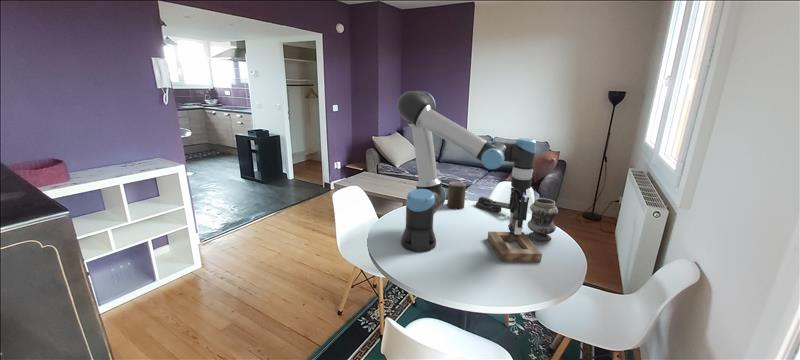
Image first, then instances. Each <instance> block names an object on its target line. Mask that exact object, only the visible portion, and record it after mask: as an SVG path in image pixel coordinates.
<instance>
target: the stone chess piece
mask: <svg viewBox="0 0 800 360" xmlns="http://www.w3.org/2000/svg"><path fill="white" fill-rule="evenodd" d="M512 219H513V220H512V224H509V223H508V225H507V227H508V230H509V231H507V232H508V235H509V236H511V237H521V234H514V231H515V223H516V220H515V219H517V210H514V213H513V217H512ZM523 227H524V226H522V230H523Z"/></svg>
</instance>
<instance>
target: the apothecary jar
mask: <svg viewBox="0 0 800 360" xmlns="http://www.w3.org/2000/svg"><path fill="white" fill-rule="evenodd" d="M529 210H530V211H531V217H530V220H529V221H528V222H527V223H526V225H527V228H528V229H529V230H530V231H531V232H530V233H528V238H529V239H531V238H532V239H531V240H533V239H534V240H533V241H535V240H536V241H535V242H539V241H541V242H542V243H548V242H547V241H549V242H551V241H552V237H551V236H550V234H553V233H555V231H556V229H557V227H556V225H555V223H554V220H555V216H557V215H558V213H559V209H558V207H557V206H556V201H555V200H552V199H550V198H545V197H539V198H538V197H537V198H535V199H534V201H533V203H531V204H530V206H529ZM550 240H551V241H550ZM541 242H540V243H541Z"/></svg>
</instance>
